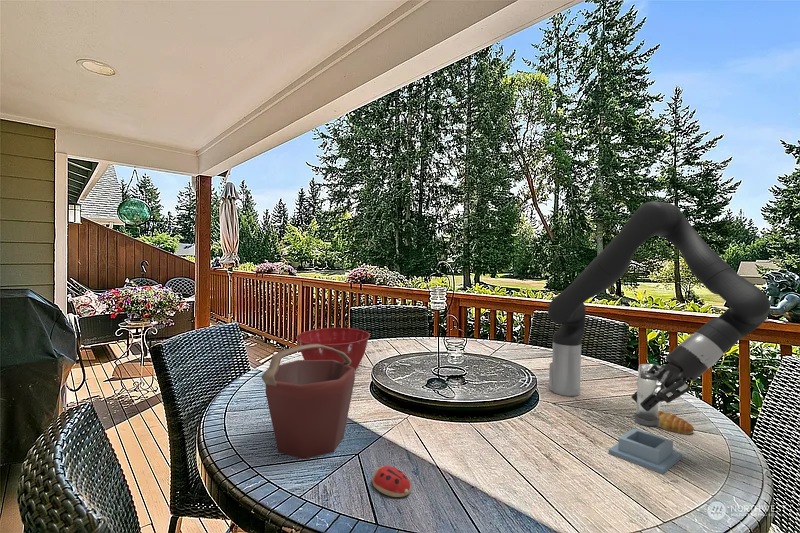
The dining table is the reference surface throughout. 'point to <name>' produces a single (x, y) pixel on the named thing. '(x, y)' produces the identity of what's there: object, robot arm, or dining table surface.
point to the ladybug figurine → (391, 482)
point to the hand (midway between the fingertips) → (639, 403)
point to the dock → (646, 450)
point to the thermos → (644, 389)
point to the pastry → (674, 423)
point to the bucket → (308, 402)
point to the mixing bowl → (335, 344)
